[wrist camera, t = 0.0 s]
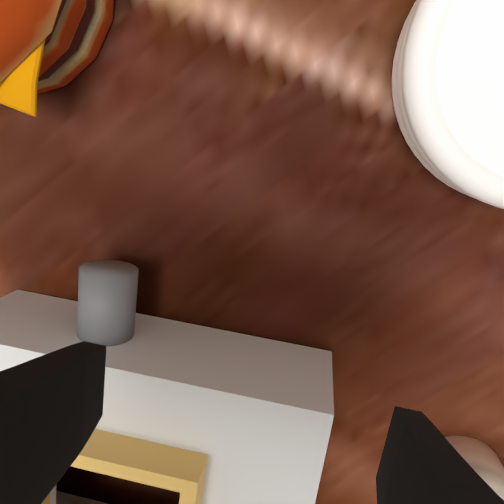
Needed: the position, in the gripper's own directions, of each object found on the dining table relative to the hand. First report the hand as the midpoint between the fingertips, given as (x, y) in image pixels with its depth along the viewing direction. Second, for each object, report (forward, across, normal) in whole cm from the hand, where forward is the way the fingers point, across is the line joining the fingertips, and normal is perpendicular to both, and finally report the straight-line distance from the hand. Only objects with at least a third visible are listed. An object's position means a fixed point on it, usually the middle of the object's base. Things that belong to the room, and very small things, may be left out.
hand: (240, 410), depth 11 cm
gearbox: (+10, +5, +8) cm, 14 cm away
